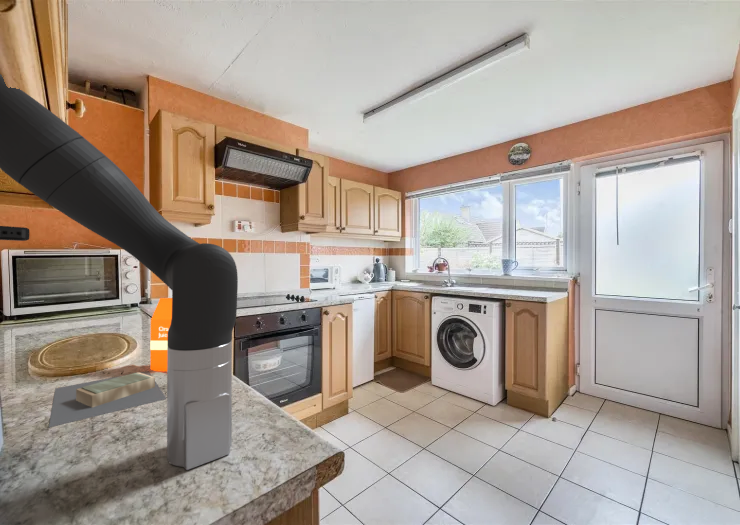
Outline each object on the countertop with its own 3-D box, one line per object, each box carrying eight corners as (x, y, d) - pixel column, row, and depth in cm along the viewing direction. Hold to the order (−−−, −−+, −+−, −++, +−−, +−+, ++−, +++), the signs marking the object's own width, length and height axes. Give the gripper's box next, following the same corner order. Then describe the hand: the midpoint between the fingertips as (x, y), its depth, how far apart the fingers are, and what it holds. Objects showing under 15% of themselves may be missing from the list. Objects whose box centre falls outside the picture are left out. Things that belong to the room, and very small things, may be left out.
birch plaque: (92, 394, 65) (154, 376, 75) (76, 388, 68) (138, 371, 79) (92, 407, 65) (154, 387, 75) (76, 400, 68) (138, 382, 79)
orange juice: (181, 371, 89) (181, 299, 89) (149, 371, 89) (150, 299, 89) (196, 362, 97) (197, 296, 97) (167, 362, 97) (168, 296, 97)
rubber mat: (166, 402, 69) (166, 398, 69) (48, 431, 57) (48, 427, 57) (148, 373, 87) (148, 370, 87) (55, 391, 75) (55, 388, 75)
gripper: (-166, 186, 36) (43, 209, 52) (-177, 197, 42) (13, 215, 58) (-167, 253, 36) (43, 256, 52) (-177, 254, 42) (13, 256, 58)
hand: (27, 234), depth 55 cm, fingers closed
